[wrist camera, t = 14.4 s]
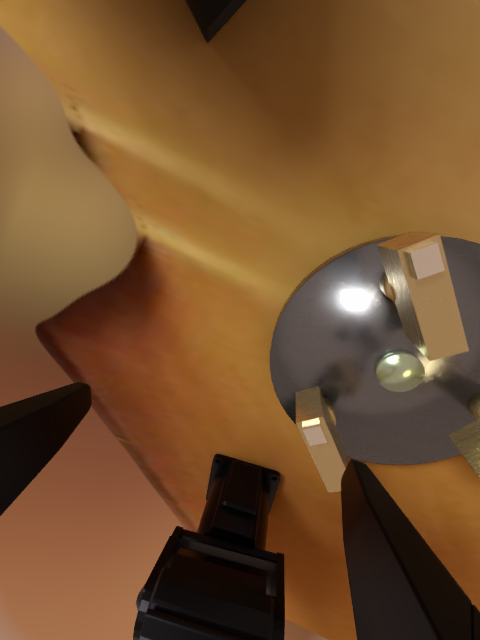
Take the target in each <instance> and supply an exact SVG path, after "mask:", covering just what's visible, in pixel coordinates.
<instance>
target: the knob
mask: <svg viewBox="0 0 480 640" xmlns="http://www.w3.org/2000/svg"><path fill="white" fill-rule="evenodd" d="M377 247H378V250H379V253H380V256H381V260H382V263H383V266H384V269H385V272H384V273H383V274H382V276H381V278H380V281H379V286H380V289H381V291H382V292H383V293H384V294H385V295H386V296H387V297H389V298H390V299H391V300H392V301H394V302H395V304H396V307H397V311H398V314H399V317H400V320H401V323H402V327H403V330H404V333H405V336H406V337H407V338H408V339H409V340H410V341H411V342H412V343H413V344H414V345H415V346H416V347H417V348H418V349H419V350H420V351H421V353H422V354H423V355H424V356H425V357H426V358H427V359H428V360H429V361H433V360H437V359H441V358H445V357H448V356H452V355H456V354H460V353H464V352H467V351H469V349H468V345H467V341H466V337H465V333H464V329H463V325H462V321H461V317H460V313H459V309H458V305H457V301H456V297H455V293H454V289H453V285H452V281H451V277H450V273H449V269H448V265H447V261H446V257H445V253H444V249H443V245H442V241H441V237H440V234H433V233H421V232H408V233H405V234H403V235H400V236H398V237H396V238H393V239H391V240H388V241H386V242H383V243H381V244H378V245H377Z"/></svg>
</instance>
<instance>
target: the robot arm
mask: <svg viewBox="0 0 480 640" xmlns="http://www.w3.org/2000/svg"><path fill="white" fill-rule="evenodd" d="M91 404H92V401H91V387H90V386H89V385H88V384H85V383H81V382H76V383H73V384H70V385H67V386H64V387H61V388H58V389H55V390H51V391H49V392H45V393H42V394H39V395H36V396H33V397H30V398H26V399H24V400H20V401H17V402H14V403H11V404H8V405H5V406H2V407H0V516H1V515H2V514H3V513H4V511H5V510H6V509H7V508H8V507H9V506H10V505H11V504H12V503H13V501H14V500H15V499H16V498H17V497H18V496H19V495H20V494H21V492H22V491H23V490H24V489H25V488H26V487H27V486H28V484H29V483H30V482H31V481H32V480H33V479H34V478H35V477H36V476H37V474H38V473H39V472H40V471H41V470H42V469H43V468H44V467H45V466H46V464H47V463H48V462H49V461H50V460H51V459H52V457H53V456H54V455H55V454H56V453H57V452H58V451H59V450H60V448H61V447H62V446H63V444H64V443H65V442H66V441H67V439H68V438H69V436H70V435H71V434H72V433H73V431H74V430H75V428H76V427H77V426H78V424H79V423H80V422H81V420H82V419H83V418H84V416H85V415H86V413H87V412H88V411H89V409H90V407H91ZM279 481H280V474H279V473H278V472H277V471H274V470H271V469H267V468H264V467H260V466H257V465H254V464H250V463H247V462H244V461H240V460H237V459H234V458H230V457H227V456H224V455H220V454H216V455H215V456H214V458H213V462H212V468H211V473H210V479H209V484H208V490H207V495H206V500H207V502H206V505H205V509H204V512H203V515H202V518H201V521H200V524H199V528H198V531H197V533H196V532H193V531H189V530H185V529H183V527H179V526H177V527H176V528H175V530H174V532H173V534H172V536H170V537H169V539H168V541H167V543H166V545H165V547H164V549H163V551H162V553H161V555H160V557H159V559H158V560H157V563H156V564H155V567H154V569H153V570H152V572H151V574H150V576H149V578H148V580H147V582H146V584H145V585H144V586H143V588H142V589H141V591H140V593H139V595H138V597H137V601H136V605H137V609H138V614H137V618H136V622H135V627H134V635H133V640H284V627H285V595H284V554H282V553H278V552H277V554H276V553H272V552H269V551H265V546H266V535H267V523H268V515H269V512H270V509H271V506H272V503H273V500H274V497H275V493H276V490H277V487H278V484H279ZM341 500H342V522H343V540H344V548H345V556H346V563H347V570H348V577H349V584H350V591H351V598H352V605H353V612H354V619H355V626H356V633H357V640H480V612H479V610H478V609H477V608H476V606H475V605H472V603H471V600H470V599H469V597H468V596H467V595H466V594H465V592H464V591H463V590H462V588H461V587H460V586H459V584H458V583H457V582H456V581H455V579H454V578H453V577H452V575H451V574H450V573H449V571H448V570H447V569H446V568H445V566H444V565H443V564H442V562H441V561H440V560H439V558H438V557H437V556H436V555H435V553H434V552H433V551H432V549H431V548H430V547H429V545H428V544H427V543H426V542H425V540H424V539H423V538H422V536H421V535H420V534H419V532H418V531H417V530H416V529H415V527H414V526H413V525H412V523H411V522H410V521H409V520H408V518H407V517H406V516H405V514H404V513H403V512H402V510H401V509H400V508H399V507H398V505H397V504H396V503H395V501H394V500H393V499H392V497H391V496H390V495H389V494H388V492H387V491H386V490H385V488H384V487H383V486H382V484H381V483H380V482H379V481H378V479H377V478H376V477H375V475H374V474H373V473H372V471H371V470H370V469H369V468H368V466H367V465H366V464H365V463H364V462H361V461H357V460H354V459H351V460H350V461H349V462H348V464H347V467H346V469H345V471H344V473H343V475H342V479H341Z"/></svg>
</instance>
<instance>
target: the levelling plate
mask: <svg viewBox="0 0 480 640" xmlns="http://www.w3.org/2000/svg"><path fill="white" fill-rule="evenodd" d="M399 236H400V235H399ZM396 237H398V236H392V237H385V238H380V239H376V240H373V241H369V242H365V243H362V244H360V245H357V246H355V247H352V248H349V249H347V250H345V251H343V252H341V253H339V254H337V255H336V256H334V257H332V258H330V259H329V260H327V261H326V262H324V263H323V264H321V265H320V266H319V267H317V268H316V269H315V270H314V271H312V272H311V273H310V274H309V275H308V276H307V277H306V278H305V279H304V280H303V281H302V282H301V283H300V284H299V285H298V286H297V288H296V289H295V290H294V291H293V292H292V294H291V295H290V297H289V298H288V300H287V301H286V303H285V304H284V307H283V309H282V311H281V313H280V315H279V317H278V320H277V323H276V326H275V329H274V333H273V339H272V345H271V351H270V370H271V378H272V382H273V385H274V389H275V392H276V394H277V397H278V399H279V401H280V403H281V405H282V406H283V408H284V410H285V411H286V413H287V414H288V416H289V417H290V418H291V419H292V420H293V422H294V423H295V424H296V392H298V391H302V390H306V389H309V388H313V387H317V386H319V388H320V390H321V393H322V395H323V397H324V398H327V399H328V400H330V401H331V403H332V404H333V408H334V413H335V417H336V428H337V431H338V433H339V435H340V438H341V440H342V443H343V445H344V447H345V450H346V454H347V456H348V457H351V458H354V459H358V460H362V461H367V462H372V463H380V464H392V465H408V464H421V463H428V462H435V461H439V460H443V459H447V458H451V457H454V456H457V455H460V454H462V453H461V452H460V450H459V449H458V448H457V446H456V445H455V444H454V442H453V441H452V439H451V438H450V437H449V434H451V433H453V432H455V431H457V430H458V429H460V428H462V427H464V426H466V425H468V424H470V423H472V422H474V421H476V419H475V418H474V417H473V416H472V415H471V413H470V412H469V411H468V410H467V407H466V405H467V401H468V400H469V398H470V397H471V396H473V395H474V394H476V393H479V392H480V244H478V243H474V242H470V241H466V240H462V239H458V238H450V237H442V236H440V237H441V241H442V245H443V249H444V253H445V257H446V261H447V265H448V269H449V273H450V277H451V281H452V285H453V289H454V293H455V297H456V301H457V305H458V309H459V313H460V317H461V321H462V325H463V329H464V333H465V337H466V341H467V345H468V349H469V351H467V352H464V353H460V354H456V355H452V356H448V357H445V358H441V359H437V360H433V361H429V360H428V359H427V358H426V357H425V356H424V355H423V354H422V353H421V351H420V350H419V349H418V348H417V347H416V346H415V345H414V344H413V343H412V342H411V341H410V340H409V339H408V338H407V337H406V336H405V333H404V330H403V327H402V323H401V320H400V317H399V314H398V311H397V307H396V304H395V302H394V301H392V300H391V299H390V298H389V297H387V296H386V295H385V294H384V293H383V292H382V291H381V289H380V286H379V281H380V278H381V276H382V274H383V273H384V272H385V269H384V266H383V263H382V260H381V256H380V253H379V250H378V247H377V245H378V244H381V243H383V242H386V241H388V240H391V239H393V238H396ZM296 425H297V424H296Z"/></svg>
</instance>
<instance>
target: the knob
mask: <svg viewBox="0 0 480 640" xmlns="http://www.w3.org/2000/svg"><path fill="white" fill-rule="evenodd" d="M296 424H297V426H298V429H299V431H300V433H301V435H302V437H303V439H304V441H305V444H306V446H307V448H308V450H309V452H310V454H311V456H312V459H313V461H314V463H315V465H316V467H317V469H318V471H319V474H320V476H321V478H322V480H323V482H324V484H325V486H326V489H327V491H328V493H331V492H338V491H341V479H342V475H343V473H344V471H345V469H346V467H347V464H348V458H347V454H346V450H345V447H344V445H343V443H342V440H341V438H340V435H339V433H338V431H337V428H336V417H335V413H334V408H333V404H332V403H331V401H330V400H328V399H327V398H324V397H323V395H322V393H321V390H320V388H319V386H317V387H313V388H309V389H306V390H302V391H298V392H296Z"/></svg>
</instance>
